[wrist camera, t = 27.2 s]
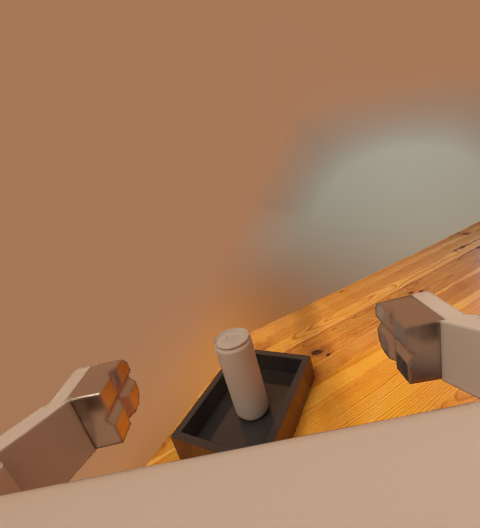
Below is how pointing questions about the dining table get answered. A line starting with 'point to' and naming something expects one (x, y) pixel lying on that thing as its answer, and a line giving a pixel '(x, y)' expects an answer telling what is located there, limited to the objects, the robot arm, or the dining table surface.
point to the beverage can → (242, 373)
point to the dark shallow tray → (233, 426)
